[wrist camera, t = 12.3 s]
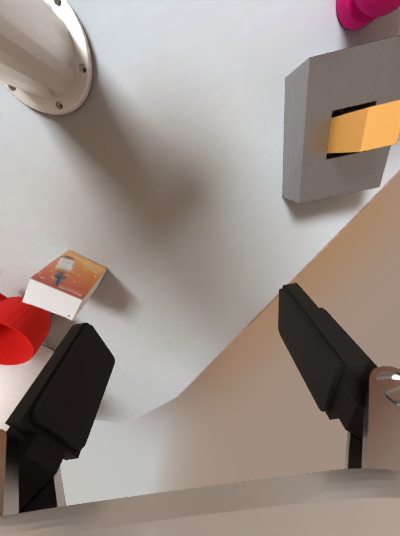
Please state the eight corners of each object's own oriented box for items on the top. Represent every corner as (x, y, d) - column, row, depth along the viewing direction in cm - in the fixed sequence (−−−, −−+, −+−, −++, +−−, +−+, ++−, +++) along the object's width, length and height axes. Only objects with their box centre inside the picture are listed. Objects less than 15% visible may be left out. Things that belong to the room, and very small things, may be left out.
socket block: (285, 77, 26) (309, 57, 21) (374, 56, 26) (421, 29, 20) (282, 196, 34) (299, 203, 29) (349, 182, 34) (379, 186, 28)
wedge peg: (309, 124, 29) (368, 107, 19) (335, 118, 29) (409, 97, 19) (307, 154, 31) (360, 151, 21) (331, 148, 31) (396, 143, 21)
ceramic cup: (31, 263, 38) (-15, 294, 29) (74, 322, 46) (48, 360, 38) (-29, 274, 38) (-92, 308, 30) (24, 331, 47) (-13, 370, 38)
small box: (108, 268, 39) (84, 300, 30) (98, 286, 42) (73, 322, 32) (68, 248, 37) (28, 277, 28) (59, 269, 39) (20, 302, 30)
